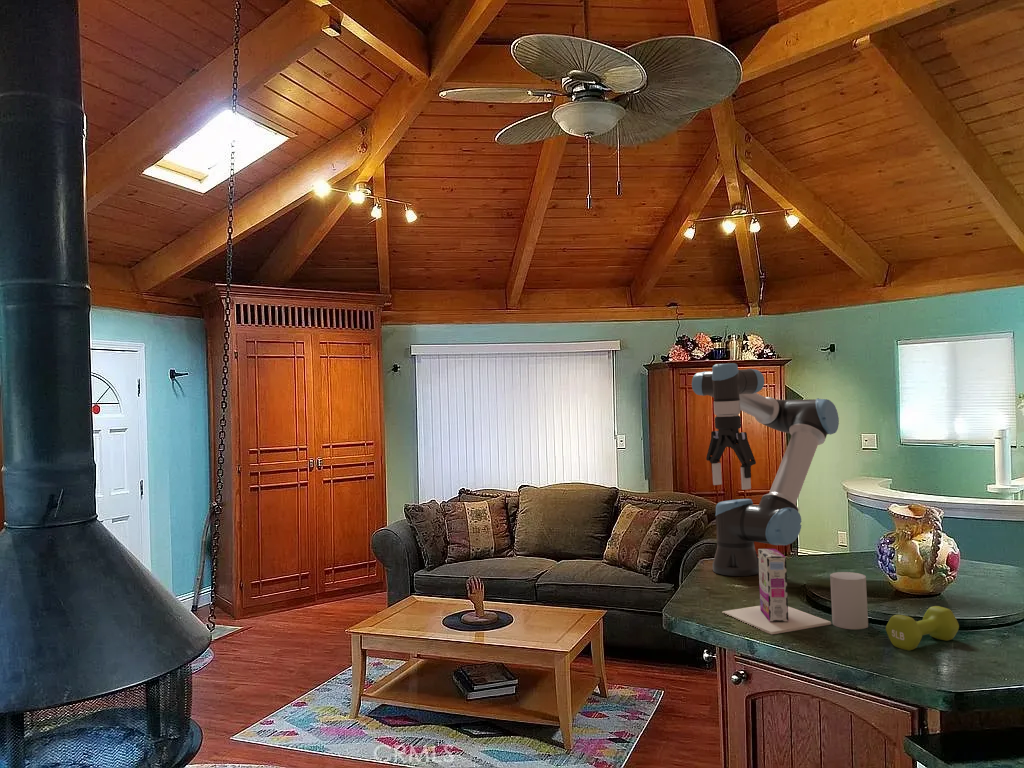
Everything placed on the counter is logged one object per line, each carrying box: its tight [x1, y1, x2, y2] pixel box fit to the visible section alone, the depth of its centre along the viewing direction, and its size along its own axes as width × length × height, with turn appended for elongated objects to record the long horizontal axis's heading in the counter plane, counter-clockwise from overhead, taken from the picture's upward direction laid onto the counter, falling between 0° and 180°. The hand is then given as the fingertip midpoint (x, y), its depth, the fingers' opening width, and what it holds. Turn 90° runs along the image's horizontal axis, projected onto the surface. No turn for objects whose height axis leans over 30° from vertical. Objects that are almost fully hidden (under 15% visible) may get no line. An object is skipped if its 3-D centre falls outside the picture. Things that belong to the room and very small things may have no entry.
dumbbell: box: [885, 605, 960, 651], centre depth 175 cm, size 16×8×7 cm, turn 115°
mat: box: [721, 605, 832, 635], centre depth 198 cm, size 18×20×1 cm
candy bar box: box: [757, 548, 789, 622], centre depth 198 cm, size 11×5×16 cm, turn 174°
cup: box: [829, 571, 869, 630], centre depth 191 cm, size 8×8×12 cm
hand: (731, 487), depth 229 cm, fingers open, 13 cm apart
